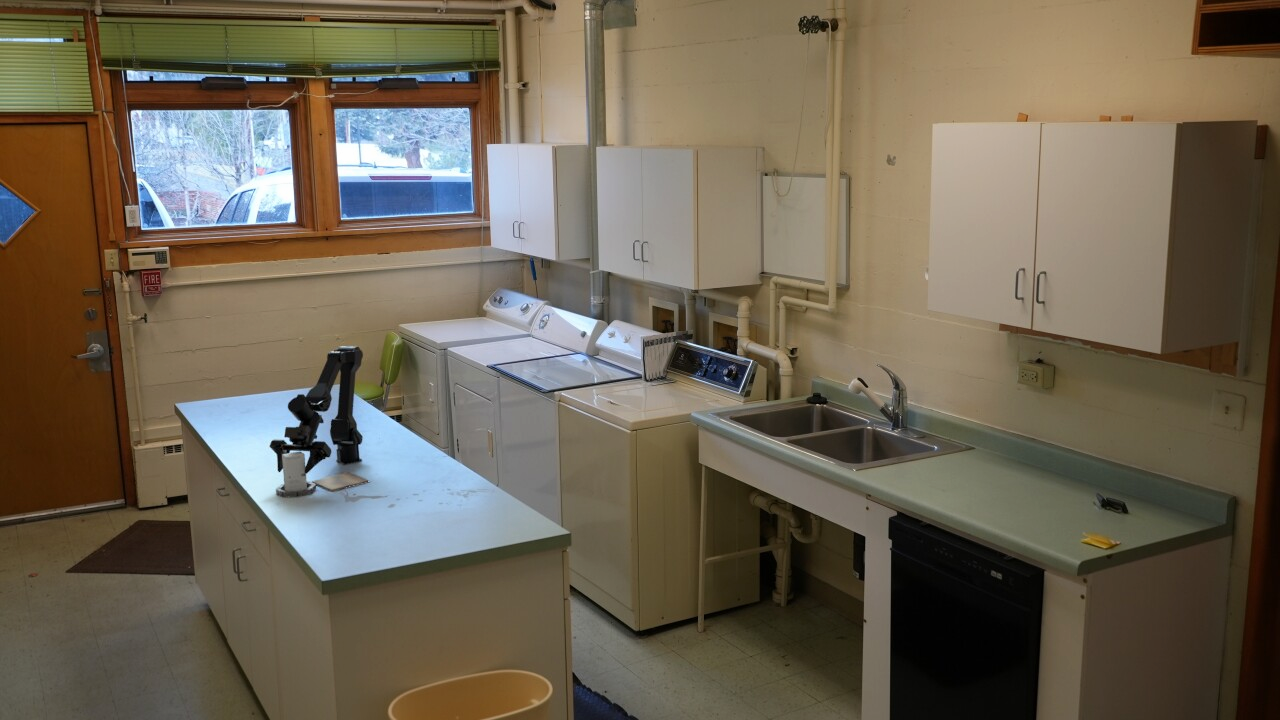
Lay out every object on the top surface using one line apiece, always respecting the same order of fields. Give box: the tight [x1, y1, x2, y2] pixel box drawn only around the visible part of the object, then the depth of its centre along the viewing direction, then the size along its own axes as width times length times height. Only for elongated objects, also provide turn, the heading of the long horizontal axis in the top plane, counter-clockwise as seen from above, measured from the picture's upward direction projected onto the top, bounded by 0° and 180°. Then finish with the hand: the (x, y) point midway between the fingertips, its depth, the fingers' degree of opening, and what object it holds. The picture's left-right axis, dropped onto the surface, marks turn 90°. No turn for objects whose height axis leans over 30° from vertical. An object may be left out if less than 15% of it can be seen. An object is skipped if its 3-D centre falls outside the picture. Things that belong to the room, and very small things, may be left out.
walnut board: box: [311, 471, 370, 492], centre depth 352 cm, size 13×13×1 cm
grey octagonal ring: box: [275, 480, 317, 498], centre depth 344 cm, size 11×11×2 cm
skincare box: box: [282, 451, 308, 491], centre depth 343 cm, size 6×4×12 cm
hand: (292, 472), depth 342 cm, fingers open, 9 cm apart
